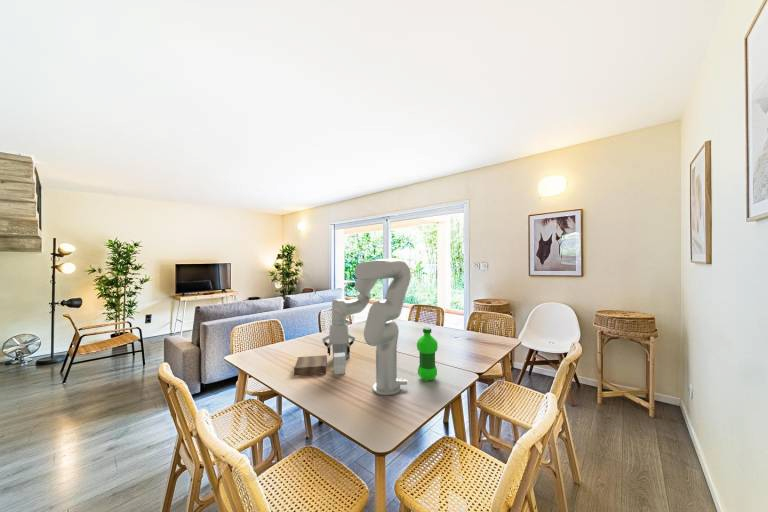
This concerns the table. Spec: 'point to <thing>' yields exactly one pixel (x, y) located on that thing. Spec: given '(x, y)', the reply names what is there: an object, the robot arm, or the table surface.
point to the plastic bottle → (427, 355)
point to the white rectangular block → (339, 363)
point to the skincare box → (340, 349)
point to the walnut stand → (310, 365)
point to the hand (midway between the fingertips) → (338, 354)
